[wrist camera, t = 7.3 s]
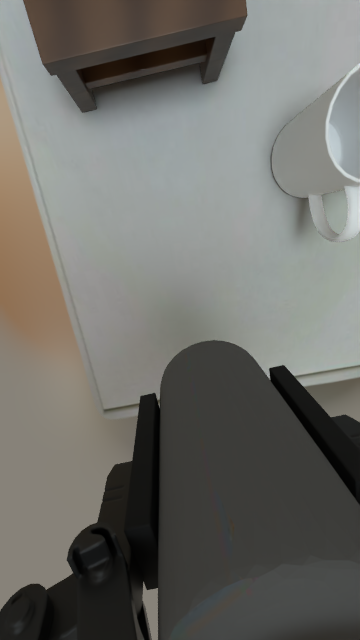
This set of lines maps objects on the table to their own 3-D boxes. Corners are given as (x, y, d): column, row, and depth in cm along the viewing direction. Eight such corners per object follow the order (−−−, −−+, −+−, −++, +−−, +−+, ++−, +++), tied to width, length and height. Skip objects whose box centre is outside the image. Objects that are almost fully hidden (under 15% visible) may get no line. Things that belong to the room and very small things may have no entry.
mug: (273, 113, 28) (335, 49, 18) (349, 113, 28) (450, 51, 18) (264, 239, 32) (310, 244, 22) (330, 237, 32) (406, 242, 22)
